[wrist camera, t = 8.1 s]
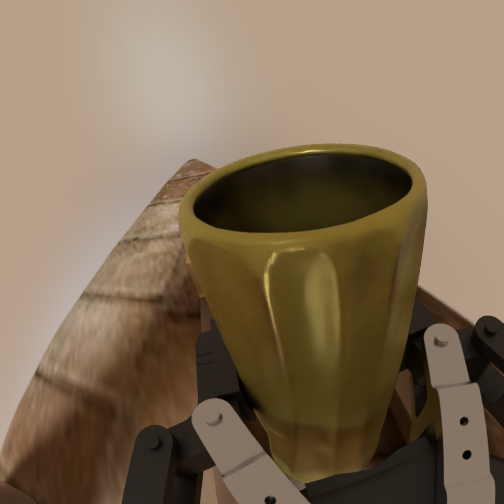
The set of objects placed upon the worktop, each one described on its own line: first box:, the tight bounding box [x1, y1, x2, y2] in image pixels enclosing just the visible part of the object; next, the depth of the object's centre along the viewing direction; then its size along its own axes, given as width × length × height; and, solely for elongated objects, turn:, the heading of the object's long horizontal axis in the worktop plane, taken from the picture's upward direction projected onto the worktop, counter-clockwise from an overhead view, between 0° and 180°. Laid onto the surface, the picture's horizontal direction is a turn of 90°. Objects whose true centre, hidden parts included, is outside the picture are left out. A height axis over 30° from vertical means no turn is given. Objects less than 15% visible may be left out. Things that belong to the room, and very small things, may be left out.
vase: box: [179, 144, 428, 483], centre depth 10 cm, size 6×6×14 cm
